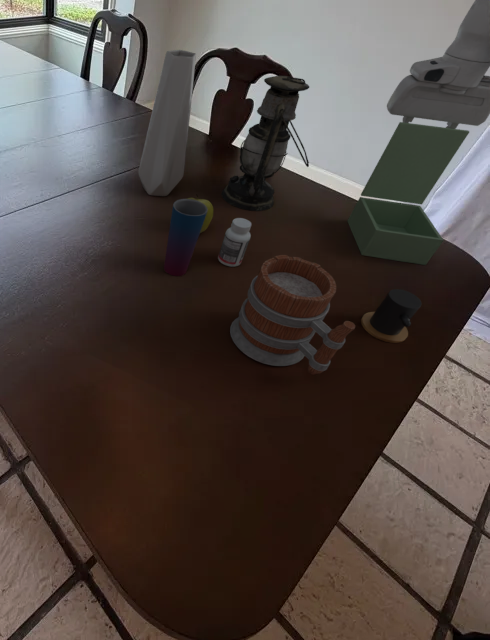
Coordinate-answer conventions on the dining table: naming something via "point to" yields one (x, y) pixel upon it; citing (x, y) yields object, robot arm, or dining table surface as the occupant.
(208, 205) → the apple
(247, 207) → the lantern
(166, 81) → the vase
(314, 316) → the mug
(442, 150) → the lid
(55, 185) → the dining table surface
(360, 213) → the chest
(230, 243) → the pill bottle
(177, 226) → the cup
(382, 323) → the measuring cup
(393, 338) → the coaster
